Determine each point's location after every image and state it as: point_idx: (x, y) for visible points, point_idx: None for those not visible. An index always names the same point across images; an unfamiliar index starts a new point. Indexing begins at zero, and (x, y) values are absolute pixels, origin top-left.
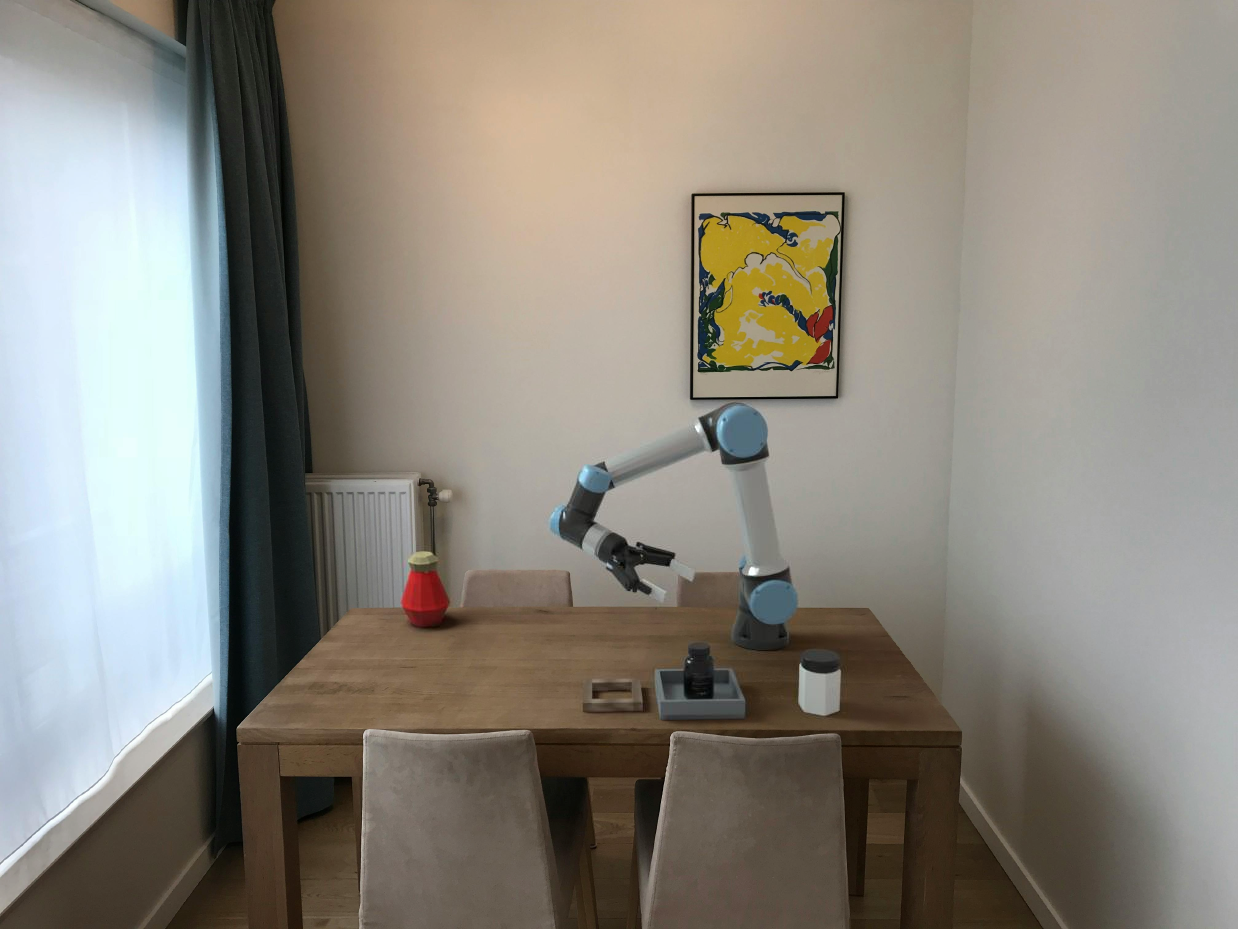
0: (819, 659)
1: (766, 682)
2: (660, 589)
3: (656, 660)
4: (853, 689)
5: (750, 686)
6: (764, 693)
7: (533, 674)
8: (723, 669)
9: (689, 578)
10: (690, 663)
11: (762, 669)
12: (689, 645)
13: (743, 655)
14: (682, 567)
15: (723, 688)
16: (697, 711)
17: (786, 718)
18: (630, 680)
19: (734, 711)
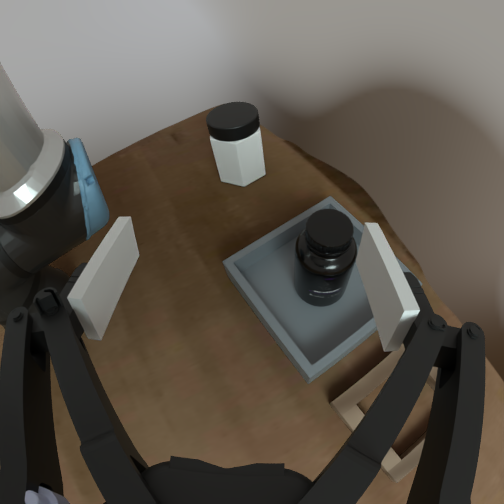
0: (248, 110)
1: (193, 242)
2: (379, 238)
3: (187, 443)
4: (172, 166)
5: (219, 252)
6: (234, 228)
7: None
8: (235, 270)
9: (133, 256)
10: (356, 247)
11: (147, 266)
12: (343, 241)
13: None
14: (110, 258)
15: (265, 269)
16: None
17: (293, 182)
18: (350, 411)
19: None
